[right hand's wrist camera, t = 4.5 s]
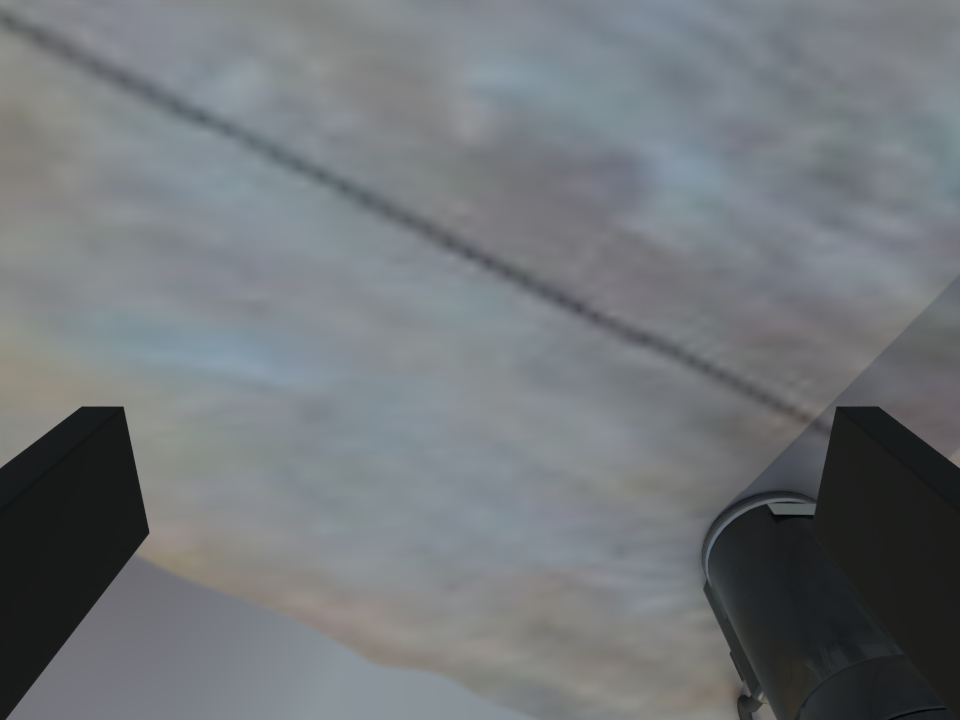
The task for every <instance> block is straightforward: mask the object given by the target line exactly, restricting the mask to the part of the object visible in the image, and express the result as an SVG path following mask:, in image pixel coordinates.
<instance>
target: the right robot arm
mask: <svg viewBox="0 0 960 720" xmlns="http://www.w3.org/2000/svg"><path fill="white" fill-rule="evenodd" d="M148 534H149V528H148V523H147V518H146V513H145V509H144V504H143V499H142V494H141V489H140V484H139V480H138V475H137V470H136V465H135V460H134V455H133V450H132V446H131V441H130V436H129V431H128V426H127V421H126V417H125V412H124V407H81V408H79V409H78V410H77V411H75V412H74V413H73V414H71V415H70V416H69V417H67V418H66V419H65V420H63V421H62V422H61V423H60V424H58V425H57V426H56V427H54V428H53V429H52V430H50V431H49V432H48V433H46V434H45V435H44V436H42V437H41V438H40V439H38V440H37V441H36V442H34V443H33V444H32V445H31V446H29V447H28V448H27V449H25V450H24V451H23V452H21V453H20V454H19V455H17V456H16V457H15V458H13V459H12V460H11V461H9V462H8V463H7V464H5V465H4V466H3V467H2V468H0V720H6V718H7V717H8V716H9V715H10V713H11V712H12V711H13V709H14V708H15V707H16V705H17V704H18V703H19V702H20V700H21V699H22V698H23V696H24V695H25V694H26V692H27V691H28V690H29V689H30V687H31V686H32V685H33V683H34V682H35V681H36V680H37V678H38V677H39V676H40V674H41V673H42V672H43V670H44V669H45V668H46V667H47V665H48V664H49V663H50V661H51V660H52V659H53V657H54V656H55V655H56V654H57V652H58V651H59V650H60V648H61V647H62V646H63V645H64V643H65V642H66V641H67V639H68V638H69V637H70V635H71V634H72V633H73V632H74V630H75V629H76V628H77V626H78V625H79V624H80V622H81V621H82V620H83V619H84V617H85V616H86V615H87V613H88V612H89V611H90V610H91V608H92V607H93V606H94V604H95V603H96V602H97V600H98V599H99V598H100V597H101V595H102V594H103V593H104V591H105V590H106V589H107V587H108V586H109V585H110V584H111V582H112V581H113V580H114V578H115V577H116V576H117V574H118V573H119V572H120V571H121V569H122V568H123V567H124V565H125V564H126V563H127V561H128V560H129V559H130V558H131V556H132V555H133V554H134V552H135V551H136V550H137V549H138V547H139V546H140V545H141V543H142V542H143V541H144V539H145V538H146V537H147V536H148ZM811 534H812V536H813V537H814V538H815V539H816V541H817V542H818V543H819V545H820V546H821V547H822V549H823V550H824V551H825V552H826V554H827V555H828V556H829V558H830V559H831V560H832V562H833V563H834V564H835V565H836V567H837V568H838V569H839V571H840V572H841V573H842V575H843V576H844V577H845V578H846V580H847V581H848V582H849V584H850V585H851V586H852V587H853V589H854V590H855V591H856V593H857V594H858V595H859V597H860V598H861V599H862V600H863V602H864V603H865V604H866V606H867V607H868V608H869V610H870V611H871V612H872V613H873V615H874V616H875V617H876V619H877V620H878V621H879V622H880V624H881V625H882V626H883V628H884V629H885V630H886V632H887V633H888V634H889V635H890V637H891V638H892V639H893V641H894V642H895V643H896V645H897V646H898V647H899V648H900V650H901V651H902V652H903V654H904V655H905V656H906V657H907V659H908V660H909V661H910V663H911V664H912V665H913V667H914V668H915V669H916V670H917V672H918V673H919V674H920V676H921V677H922V678H923V680H924V681H925V682H926V683H927V685H928V686H929V687H930V689H931V690H932V691H933V692H934V694H935V695H936V696H937V698H938V699H939V700H940V702H941V703H942V704H943V705H944V707H945V708H946V709H947V711H948V712H949V713H950V715H951V716H952V717H953V718H954V720H960V468H958V467H957V466H956V465H955V464H953V463H952V462H951V461H949V460H948V459H947V458H945V457H944V456H943V455H941V454H940V453H939V452H937V451H936V450H935V449H933V448H932V447H931V446H929V445H928V444H927V443H926V442H924V441H923V440H922V439H920V438H919V437H918V436H916V435H915V434H914V433H912V432H911V431H910V430H908V429H907V428H906V427H904V426H903V425H902V424H900V423H899V422H898V421H897V420H895V419H894V418H893V417H891V416H890V415H889V414H887V413H886V412H885V411H883V410H882V409H881V408H879V407H836V412H835V417H834V421H833V426H832V431H831V436H830V441H829V446H828V450H827V455H826V460H825V465H824V470H823V475H822V480H821V484H820V489H819V494H818V499H817V504H816V509H815V513H814V518H813V523H812V528H811Z"/></svg>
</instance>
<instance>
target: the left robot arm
mask: <svg viewBox="0 0 960 720" xmlns="http://www.w3.org/2000/svg"><path fill="white" fill-rule="evenodd" d="M816 504H817V501H815V500H813V499H811V498H809V497H807V496H804V495H801V494H796V493H790V492H772V493H765V494H761V495H757V496H754V497H751V498H748V499H746V500H744V501H742V502H740V503H738V504H736V505H735V506H733V507H732V508H730V509H729V510H727V511H726V512H725V513H724V514H723V515H722V516H721V517H720V518H719V519H718V520H717V521H716V522H715V523H714V525H713V526H712V528H711V529H710V531H709V533H708V534H707V537H706V539H705V542H704V545H703V550H702V565H703V569H704V572H705V575H706V577H707V583H706V585H705V587H704V589H703V590H704V593H705V595H706V597H707V599H708V601H709V603H710V606H711V608H712V610H713V612H714V614H715V617H716V619H717V621H718V623H719V625H720V627H721V630H722V632H723V634H724V636H725V638H726V640H727V643H728V645H729V647H730V649H731V652H730V656H731V658H732V660H733V662H734V665H735V667H736V669H737V671H738V673H739V676H740V678H741V680H742V682H743V683H746V684H747V686H748V688H749V690H750V693H751V696H750V697H747V696H746V695H743V696H740V697H739V699H738V712H739V716H740V720H753V719H752V715H751V712H755V711H757V710H758V709H759V708H760V707H761V705H762V704H763V703H765V704H769V705H770V706H771V708H772V710H773V712H774V715H775V717H776V719H777V720H954V718H953V717H952V716H951V715H950V713H949V712H948V711H947V709H946V708H945V707H944V705H943V704H942V703H941V702H940V700H939V699H938V698H937V696H936V695H935V694H934V692H933V691H932V690H931V689H930V687H929V686H928V685H927V683H926V682H925V681H924V680H923V678H922V677H921V676H920V674H919V673H918V672H917V670H916V669H915V668H914V667H913V665H912V664H911V663H910V661H909V660H908V659H907V657H906V656H905V655H904V654H903V652H902V651H901V650H900V648H899V647H898V646H897V645H896V643H895V642H894V641H893V639H892V638H891V637H890V635H889V634H888V633H887V632H886V630H885V629H884V628H883V626H882V625H881V624H880V622H879V621H878V620H877V619H876V617H875V616H874V615H873V613H872V612H871V611H870V610H869V608H868V607H867V606H866V604H865V603H864V602H863V600H862V599H861V598H860V597H859V595H858V594H857V593H856V591H855V590H854V589H853V587H852V586H851V585H850V584H849V582H848V581H847V580H846V578H845V577H844V576H843V575H842V573H841V572H840V571H839V569H838V568H837V567H836V565H835V564H834V563H833V562H832V560H831V559H830V558H829V556H828V555H827V554H826V552H825V551H824V550H823V549H822V547H821V546H820V545H819V543H818V542H817V541H816V539H815V538H814V537H813V536H812V534H811V528H812V523H813V518H814V513H815V509H816Z"/></svg>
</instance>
